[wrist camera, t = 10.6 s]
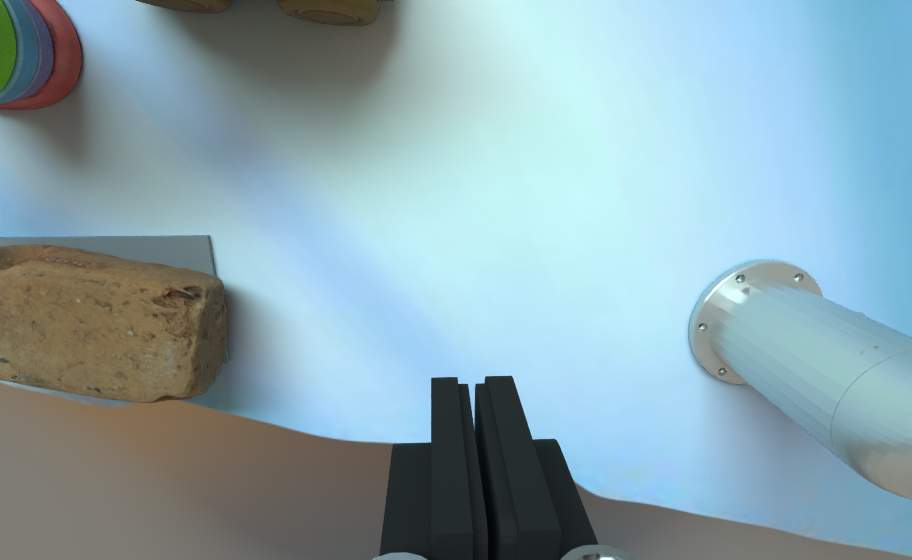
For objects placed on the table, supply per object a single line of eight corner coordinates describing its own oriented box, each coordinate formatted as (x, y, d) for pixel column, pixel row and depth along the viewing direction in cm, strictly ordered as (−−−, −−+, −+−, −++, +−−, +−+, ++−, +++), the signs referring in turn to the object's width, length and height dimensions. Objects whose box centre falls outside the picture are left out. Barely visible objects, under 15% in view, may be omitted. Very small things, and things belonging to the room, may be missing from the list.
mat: (209, 235, 41) (207, 236, 41) (229, 360, 45) (227, 362, 45) (-9, 237, 41) (-13, 238, 40) (30, 364, 44) (27, 366, 44)
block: (190, 421, 38) (-81, 379, 36) (230, 374, 45) (5, 336, 43) (194, 295, 35) (-104, 242, 33) (237, 265, 42) (-6, 220, 40)
